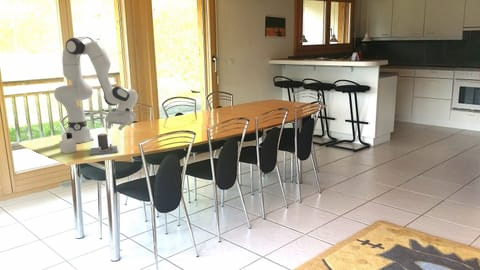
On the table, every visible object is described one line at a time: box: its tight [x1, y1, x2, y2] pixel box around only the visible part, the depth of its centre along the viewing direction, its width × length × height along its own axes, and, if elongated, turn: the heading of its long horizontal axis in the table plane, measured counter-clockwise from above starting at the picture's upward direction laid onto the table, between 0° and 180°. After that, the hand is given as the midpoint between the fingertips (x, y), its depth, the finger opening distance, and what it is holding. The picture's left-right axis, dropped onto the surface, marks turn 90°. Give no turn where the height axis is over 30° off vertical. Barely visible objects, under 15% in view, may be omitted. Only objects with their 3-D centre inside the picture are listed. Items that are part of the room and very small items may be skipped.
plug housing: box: [97, 133, 109, 150], centre depth 264 cm, size 4×4×10 cm
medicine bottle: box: [58, 132, 78, 155], centre depth 265 cm, size 7×7×12 cm
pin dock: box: [89, 143, 119, 156], centre depth 265 cm, size 16×16×4 cm
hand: (114, 129), depth 274 cm, fingers open, 8 cm apart
